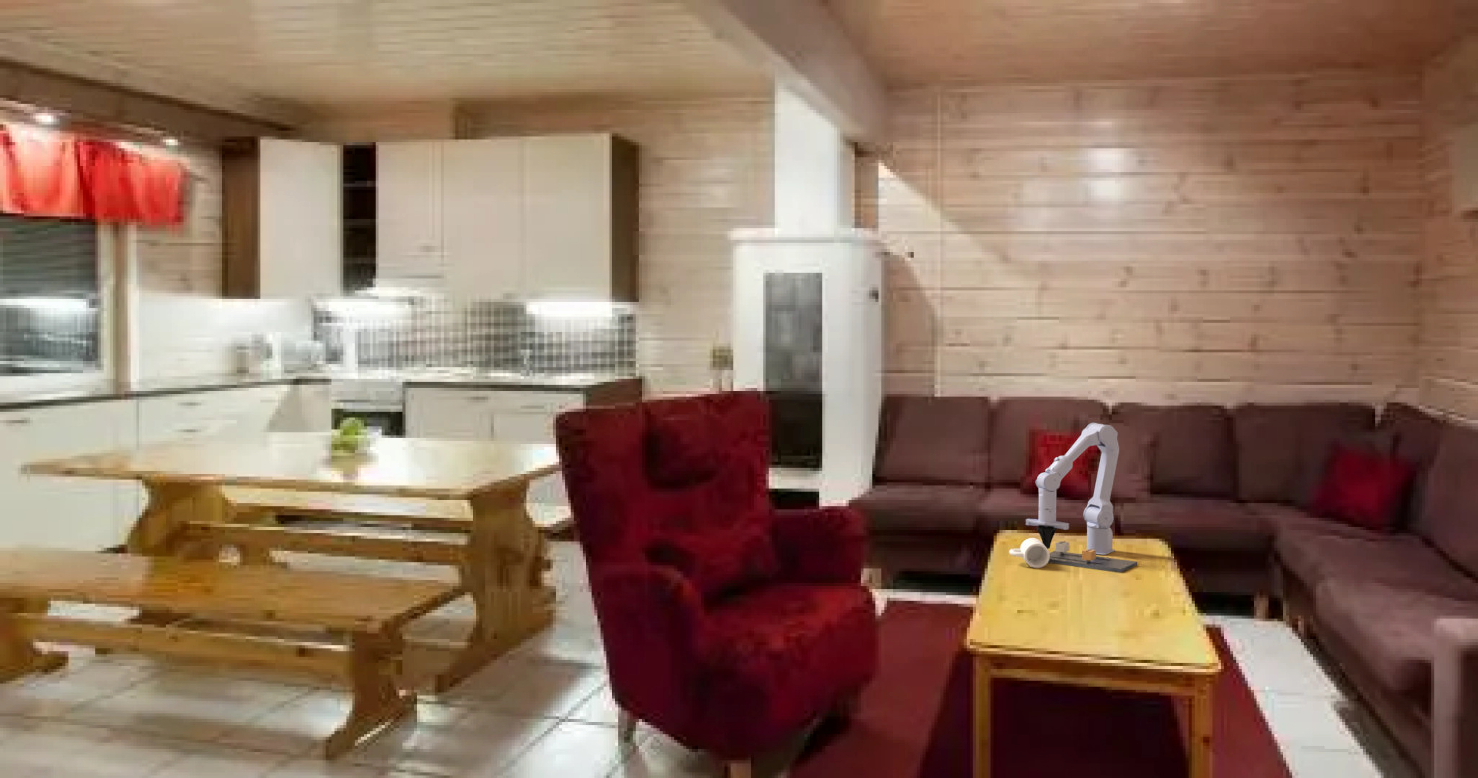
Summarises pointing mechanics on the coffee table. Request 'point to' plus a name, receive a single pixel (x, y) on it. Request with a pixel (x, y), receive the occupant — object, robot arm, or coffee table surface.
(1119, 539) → the coffee table surface
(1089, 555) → the orange fader
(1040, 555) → the mug
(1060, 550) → the cream fader
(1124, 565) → the mixer board
